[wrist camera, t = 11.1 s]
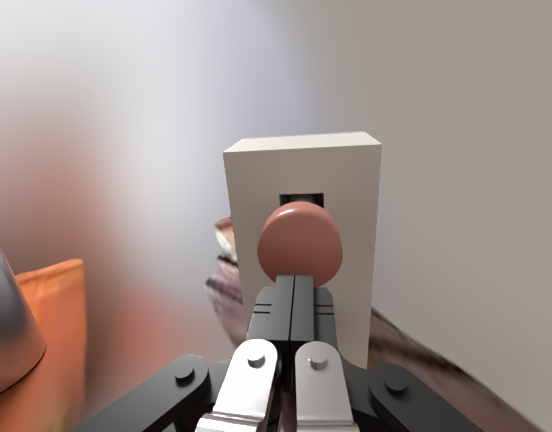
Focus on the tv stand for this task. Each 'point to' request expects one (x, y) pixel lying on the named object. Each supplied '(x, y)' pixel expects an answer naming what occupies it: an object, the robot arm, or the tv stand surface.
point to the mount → (329, 195)
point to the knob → (300, 241)
